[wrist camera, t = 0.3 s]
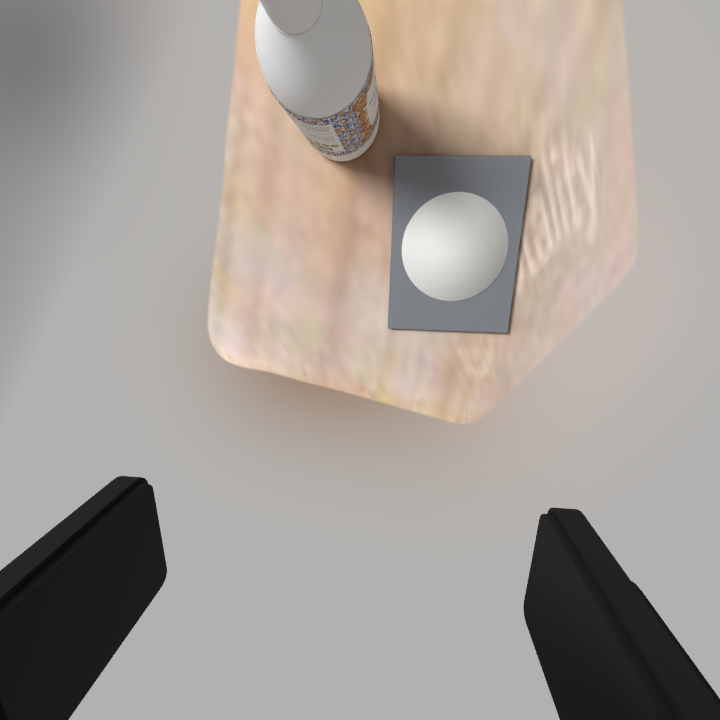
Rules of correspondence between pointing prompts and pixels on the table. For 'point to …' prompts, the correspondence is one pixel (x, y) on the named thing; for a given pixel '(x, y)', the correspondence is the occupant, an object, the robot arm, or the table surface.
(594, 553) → the robot arm
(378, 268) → the table surface
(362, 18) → the bath foam
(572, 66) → the table surface
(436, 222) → the rubber mat
